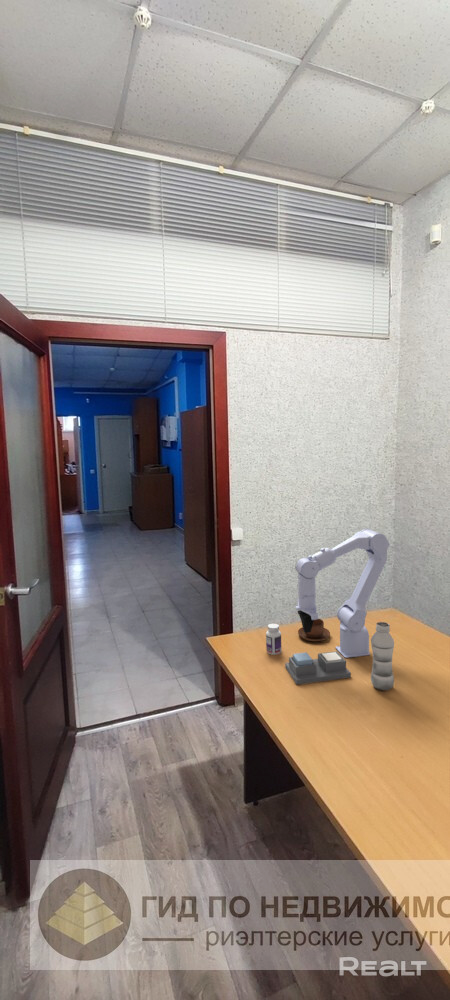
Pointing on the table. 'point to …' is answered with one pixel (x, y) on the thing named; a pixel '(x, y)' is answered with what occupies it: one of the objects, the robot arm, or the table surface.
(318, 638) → the cup and saucer
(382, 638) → the plastic bottle
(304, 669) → the key panel
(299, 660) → the blue key
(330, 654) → the white key
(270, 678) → the table surface
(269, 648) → the pill bottle
